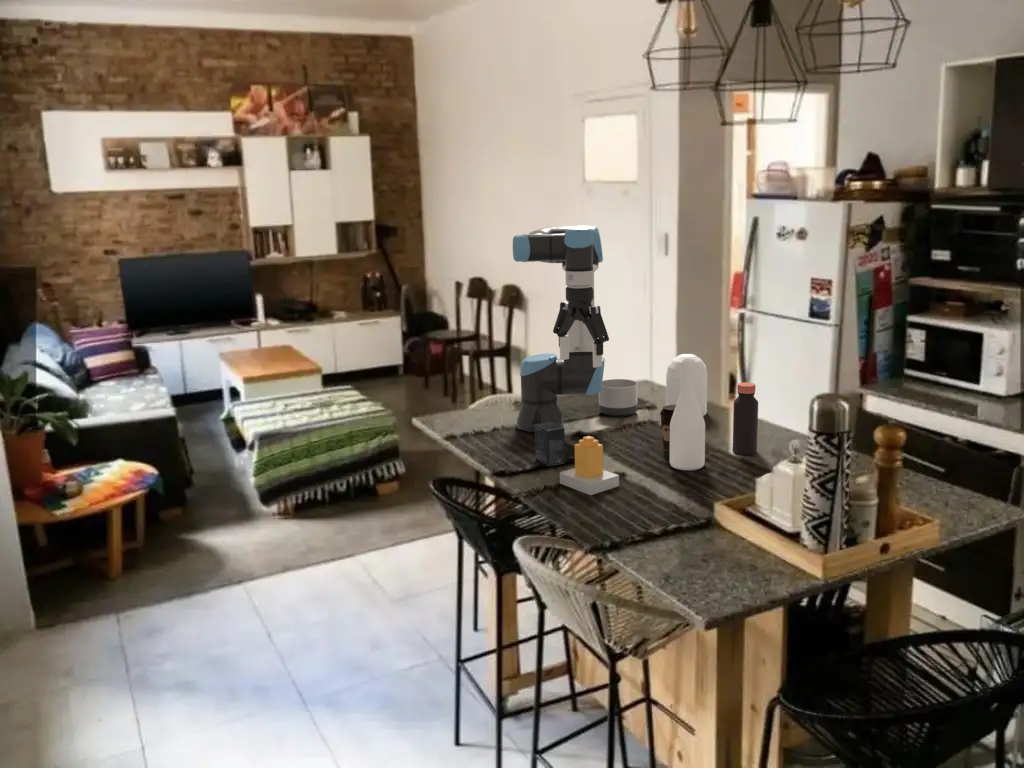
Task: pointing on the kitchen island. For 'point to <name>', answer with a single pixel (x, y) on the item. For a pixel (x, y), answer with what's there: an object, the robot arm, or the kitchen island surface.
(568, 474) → the base with peg
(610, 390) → the planter
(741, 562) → the kitchen island surface
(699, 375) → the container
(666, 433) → the coffee cup
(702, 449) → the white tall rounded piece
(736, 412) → the vinegar
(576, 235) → the robot arm
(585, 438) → the orange stepped block
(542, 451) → the box
